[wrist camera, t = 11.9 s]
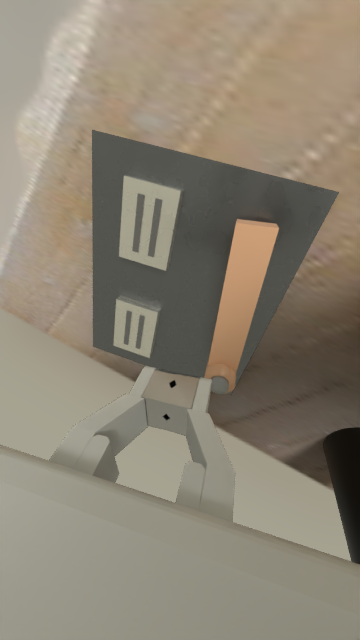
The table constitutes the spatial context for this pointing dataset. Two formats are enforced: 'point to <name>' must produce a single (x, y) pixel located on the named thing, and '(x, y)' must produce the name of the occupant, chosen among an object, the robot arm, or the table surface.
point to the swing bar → (239, 299)
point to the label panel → (184, 248)
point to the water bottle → (346, 482)
